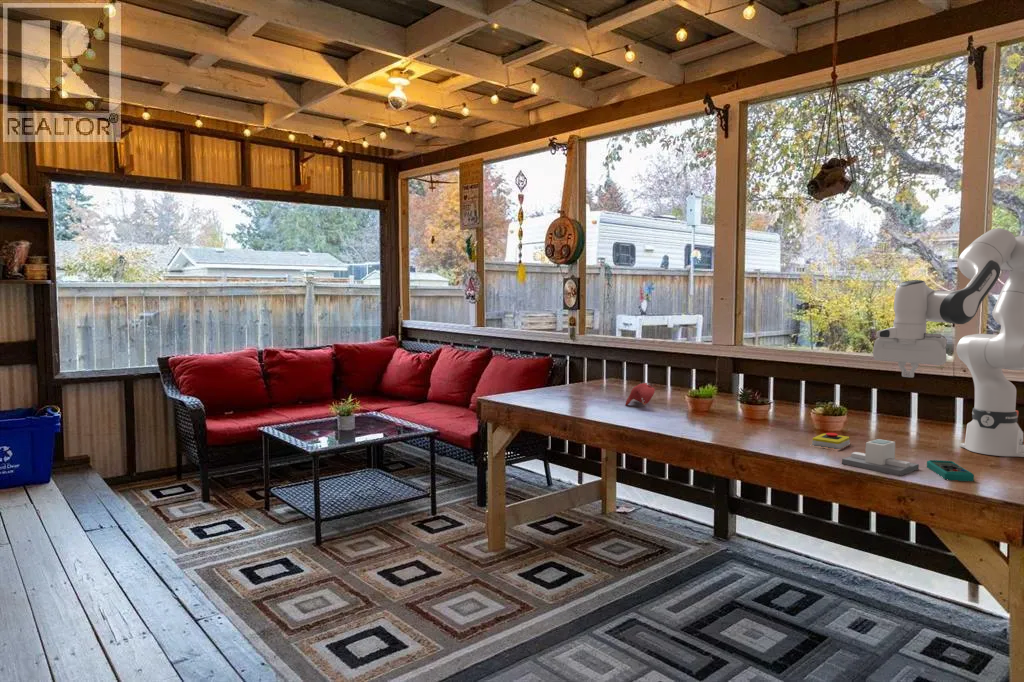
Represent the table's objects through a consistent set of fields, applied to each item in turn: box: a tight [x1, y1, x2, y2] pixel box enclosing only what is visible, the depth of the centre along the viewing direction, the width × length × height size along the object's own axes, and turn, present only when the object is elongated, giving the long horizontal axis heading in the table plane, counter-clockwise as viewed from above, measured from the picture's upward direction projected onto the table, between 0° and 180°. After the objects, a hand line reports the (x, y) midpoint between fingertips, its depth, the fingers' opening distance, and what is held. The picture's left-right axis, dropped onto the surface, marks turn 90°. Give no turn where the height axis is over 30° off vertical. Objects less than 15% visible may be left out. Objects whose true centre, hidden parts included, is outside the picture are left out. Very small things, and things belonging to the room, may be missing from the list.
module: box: [864, 438, 896, 465], centre depth 202 cm, size 8×5×6 cm, turn 126°
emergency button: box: [811, 432, 851, 450], centre depth 230 cm, size 9×4×15 cm
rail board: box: [841, 451, 920, 477], centre depth 202 cm, size 12×17×3 cm
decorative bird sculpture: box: [624, 382, 656, 406], centre depth 311 cm, size 28×9×15 cm
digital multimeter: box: [926, 459, 975, 482], centre depth 194 cm, size 7×15×3 cm, turn 167°
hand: (907, 376), depth 207 cm, fingers closed
